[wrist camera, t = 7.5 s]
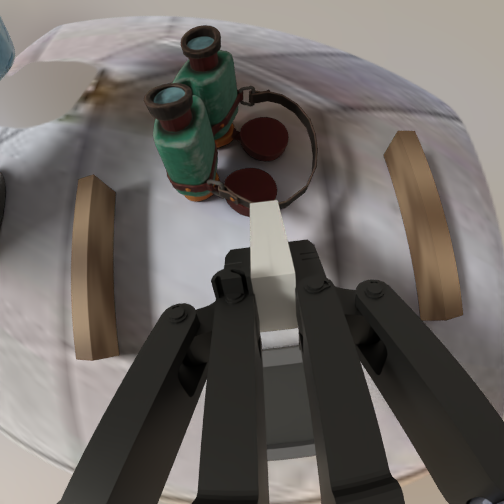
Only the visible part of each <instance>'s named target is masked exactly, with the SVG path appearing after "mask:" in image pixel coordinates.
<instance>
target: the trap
mask: <svg viewBox="0 0 504 504" xmlns="http://www.w3.org/2000/svg"><path fill="white" fill-rule="evenodd" d="M262 359H263V379H264V400H265V420H266V442H267V461H275V460H285V459H294V458H302V457H309V456H315V455H316V450H315V443H314V435H313V428H312V420H311V413H310V406H309V399H308V392H307V386H306V379H305V373H304V366H303V360H302V354H301V350H299V345H297V346H289V347H282V348H273V349H264V350H262Z"/></svg>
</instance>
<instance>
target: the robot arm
mask: <svg viewBox="0 0 504 504" xmlns="http://www.w3.org/2000/svg"><path fill="white" fill-rule="evenodd" d="M14 59H15V49H14V46H13V43H12V41H11V38H10V36H9V33H8V31H7V29H6V27H5V25H4V23H3V21H2V19H1V17H0V80H1V79H2V78H3V77H4V76H5V75H6V73H7V72H8V71H9V70H10V68H11V67H12V65H13V62H14ZM4 204H5V181H4V178H3V175H2V174H1V173H0V225H1V221H2V216H3V211H4ZM211 283H212V286H213V290H214V293H215V297H216V301H215V302H214V303H212V304H211V305H209V306H206V307H204V308H201V309H197V310H195V308H194V307H193V306H191V305H189V304H186V303H183V304H176V305H173V306H171V307H169V308H168V309H166V310H165V311H164V312H163V314H162V315H161V317H160V318H159V320H158V322H157V323H156V325H155V327H154V328H153V330H152V331H151V333H150V335H149V336H148V338H147V340H146V341H145V343H144V345H143V347H142V348H141V350H140V352H139V353H138V355H137V357H136V358H135V360H134V362H133V364H132V365H131V367H130V369H129V370H128V372H127V374H126V376H125V377H124V379H123V381H122V383H121V384H120V386H119V388H118V390H117V392H116V393H115V395H114V397H113V399H112V401H111V402H110V404H109V406H108V408H107V410H106V411H105V413H104V415H103V417H102V419H101V421H100V423H99V424H98V426H97V428H96V430H95V432H94V434H93V436H92V438H91V440H90V442H89V443H88V445H87V447H86V449H85V451H84V453H83V455H82V457H81V459H80V461H79V463H78V465H77V467H76V469H75V471H74V473H73V475H72V477H71V479H70V482H69V484H68V486H67V488H66V490H65V492H64V494H63V497H62V499H61V500H60V501H59V502H58V503H57V504H158V501H159V498H160V496H161V493H162V491H163V488H164V486H165V483H166V481H167V478H168V476H169V473H170V471H171V468H172V466H173V463H174V461H175V458H176V456H177V453H178V451H179V448H180V446H181V443H182V440H183V438H184V435H185V433H186V430H187V428H188V425H189V423H190V420H191V418H192V415H193V413H194V410H195V407H196V405H197V402H198V400H199V397H200V395H201V392H202V390H203V387H204V384H205V382H206V379H207V384H206V395H205V405H204V416H203V428H202V440H201V453H200V467H199V481H198V493H197V497H196V499H195V500H194V501H193V502H192V504H269V486H268V463H267V442H266V420H265V400H264V379H263V359H262V342H261V336H260V332H267V331H276V330H285V329H293V328H298V329H299V350H301V354H302V360H303V366H304V373H305V379H306V386H307V392H308V399H309V406H310V413H311V420H312V428H313V435H314V443H315V450H316V458H317V466H318V475H319V483H320V492H321V504H405V501H404V496H403V493H402V489H401V486H400V485H399V483H398V481H397V480H396V479H395V478H393V477H392V475H391V473H390V470H389V467H388V462H387V458H386V453H385V449H384V445H383V441H382V437H381V433H380V429H379V425H378V422H377V418H376V414H375V410H374V407H373V403H372V400H371V396H370V393H369V389H368V386H367V382H366V379H365V376H364V373H363V369H362V366H361V363H362V365H363V366H364V368H365V369H366V371H367V372H368V374H369V375H370V377H371V378H372V380H373V382H374V383H375V385H376V386H377V388H378V389H379V391H380V393H381V394H382V396H383V397H384V399H385V401H386V402H387V404H388V405H389V407H390V408H391V410H392V412H393V413H394V415H395V416H396V418H397V420H398V421H399V423H400V425H401V426H402V428H403V429H404V431H405V433H406V434H407V436H408V438H409V439H410V441H411V443H412V444H413V446H414V448H415V449H416V451H417V453H418V454H419V456H420V458H421V459H422V461H423V463H424V464H425V466H426V468H427V470H428V471H429V473H430V475H431V476H432V478H433V480H434V482H435V483H436V485H437V487H438V489H439V490H440V492H441V493H442V495H443V496H444V498H445V499H446V501H447V502H448V503H449V504H504V421H503V420H502V419H501V417H500V416H499V414H498V413H497V412H496V410H495V409H494V407H493V406H492V405H491V403H490V402H489V401H488V399H487V398H486V397H485V395H484V394H483V393H482V391H481V390H480V389H479V388H478V386H477V385H476V384H475V382H474V381H473V380H472V379H471V377H470V376H469V375H468V374H467V372H466V371H465V370H464V369H463V368H462V366H461V365H460V364H459V363H458V361H457V360H456V359H455V358H454V357H453V356H452V354H451V353H450V352H449V351H448V350H447V348H446V347H445V346H444V345H443V344H442V343H441V342H440V340H439V339H438V338H437V337H436V336H435V335H434V334H433V332H432V331H431V330H430V329H429V328H428V327H427V326H426V325H425V324H424V322H423V321H422V320H421V319H420V318H419V317H418V316H417V315H416V314H415V313H414V312H413V310H412V309H411V308H410V307H409V306H408V305H407V304H406V303H405V302H404V301H403V300H402V299H401V298H400V297H399V296H398V295H397V294H396V293H395V292H394V291H393V289H392V288H391V287H390V286H388V285H387V284H386V283H384V282H381V281H379V280H367V281H363V282H362V283H360V284H359V285H358V286H357V288H356V290H349V289H342V288H338V287H335V286H334V284H333V283H332V282H331V280H329V279H328V278H326V275H325V272H324V270H323V267H322V264H321V261H320V259H319V256H318V253H317V251H316V248H315V246H314V244H312V243H311V242H310V241H309V240H300V241H292V242H288V241H287V236H286V232H285V228H284V224H283V220H282V216H281V212H280V208H279V204H278V200H274V201H266V202H258V203H250V247H249V248H241V249H233V250H230V251H229V253H228V254H227V255H226V257H225V265H224V269H223V270H221V271H219V272H217V273H216V274H215V275H214V276H213V277H212V280H211ZM360 361H361V363H360Z"/></svg>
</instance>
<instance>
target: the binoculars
mask: <svg viewBox="0 0 504 504" xmlns="http://www.w3.org/2000/svg"><path fill="white" fill-rule="evenodd" d="M181 47H182V50H183V53H184V55H185V56H186V57H188V58H189V60H188V61H187V62H186V63H185V64H184V65H183V67H182V68H181V69H180V71H179V72H178V74H177V75H176V77H175V79H174V81H173V83H170V84H164V85H161V86H158V87H155V88H153V89H152V90H150V91H149V92H148V93H147V94H146V95H145V97H144V102H145V104H146V106H147V108H148V110H149V111H150V113H151V115H152V116H153V117H154V118H155V124H154V130H153V137H154V141H155V145H156V147H157V149H158V152H159V154H160V156H161V159H162V161H163V163H164V166H165V168H166V171H167V177H168V179H169V180H170V182H171V184H172V185H173V187H174V188H175V189H176V190H177V191H178V192H179V193H180V194H183V195H185V197H186V198H187V199H188V200H191V201H195V202H196V201H202V200H204V199H207V198H208V197H210V196H212V195H213V194H215V195H217V196H219V197H221V198H223V199H224V198H225V199H226V201H227V203H228V204H229V205H230V206H231V208H233V209H234V210H235V211H236V212H238V213H239V214H241V215H244V216H248V217H250V203H258V202H266V201H274V200H275V198H276V195H277V185H276V183H275V181H274V179H273V178H272V177H271V176H270V175H269V174H268V173H267V172H265V171H263V170H260V169H256V168H245V169H240V170H237V171H235V172H233V173H231V174H230V175H229V176H228V177H227V178H226V180H225V184H223V183H222V182H220V179H219V176H218V174H217V172H216V170H217V162H218V157H217V155H218V152H217V148H218V147H221V146H224V145H226V144H228V143H230V142H231V141H232V140H233V139H235V140H238V141H240V142H241V145H242V147H243V149H244V150H245V151H246V152H247V153H248V154H249V155H250V156H252V157H253V158H255V159H258V160H260V161H271V160H275V159H277V158H278V157H280V156H281V155H282V154H283V152H284V150H285V148H286V146H287V143H288V138H289V137H288V132H287V130H286V128H285V126H284V125H283V124H282V123H281V122H279V121H278V120H276V119H273V118H268V117H260V118H255V119H252V120H250V121H248V122H246V123H245V124H244V125H243V126H242V128H241V131H240V132H238V131H236V129H235V128H234V125H233V123H232V122H233V120H234V118H235V116H236V114H237V112H238V104H239V102H240V103H241V104H243V105H247V106H253V105H254V104H255V103H260V102H266V101H270V102H274V103H278V104H281V105H283V106H284V107H286V108H287V109H289V110H291V111H292V112H294V113H295V114H296V115H297V117H298V118H299V119H300V120H301V122H302V123H303V124H304V126H305V127H306V128H307V131H308V134H309V137H310V140H311V144H312V153H313V162H312V174H311V176H310V178H309V180H308V183H307V185H306V186H305V187H303V188H302V189H301V190H299V191H298V192H297V193H296V194H294V195H293V196H292V197H290V198H289V199H288V200H286V201H283V202H279V203H278V204H279V208H280V209H283V208H286V207H287V206H288V205H290V204H291V203H292V202H293V201H295V200H296V199H297V198H299V197H300V196H301V195H302V194H304V193H305V192H306V190H307V188H308V185H309V183H310V181H311V179H312V176H313V174H314V172H315V169H316V167H317V153H318V148H317V140H316V134H315V131H314V128H313V125H312V123H311V120H310V119H309V117H308V116H307V115H306V114H305V112H304V111H303V110H302V109H301V107H300V106H299V105H298V104H297V103H295V102H294V101H292V100H290V99H289V98H287V97H286V96H284V95H282V94H278V93H274V92H270V90H267V91H262V92H260V91H255V88H254V87H253V86H249V87H243V88H241V89H239V91H238V90H237V85H236V77H235V69H234V62H233V58H232V55H231V54H230V53H229V52H227V51H222V50H220V48H221V36H220V32H219V31H218V30H217V29H216V28H215V27H212V26H207V25H205V26H198V27H195V28H192V29H191V30H189V31H188V32H186V33H185V34H184V35H183V37H182V39H181ZM248 89H252V90H251V91H249V102H250V103H247V102H244V101H242V100H243V90H248Z"/></svg>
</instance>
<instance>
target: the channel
mask: <svg viewBox="0 0 504 504" xmlns="http://www.w3.org/2000/svg"><path fill="white" fill-rule="evenodd" d="M384 158H385V161H386V164H387V167H388V170H389V173H390V176H391V179H392V182H393V186H394V189H395V192H396V196H397V199H398V203H399V207H400V211H401V214H402V218H403V222H404V226H405V231H406V235H407V239H408V244H409V249H410V254H411V259H412V264H413V270H414V275H415V281H416V288H417V295H418V302H419V310H420V319H421V320H422V321H436V320H449V319H452V318H455V317H458V316H462V315H463V308H462V299H461V292H460V285H459V278H458V272H457V267H456V261H455V256H454V251H453V247H452V242H451V238H450V234H449V230H448V226H447V222H446V218H445V214H444V211H443V207H442V204H441V201H440V197H439V194H438V191H437V188H436V185H435V182H434V179H433V176H432V173H431V170H430V168H429V165H428V162H427V160H426V157H425V154H424V152H423V149H422V147H421V144H420V142H419V140H418V137H417V135H416V133H415V131H397V133H396V135H395V137H394V138H393V140H392V142H391V143H390V145H389V147H388V148H387V150H386V152H385V153H384ZM115 196H116V192H115V191H113V190H112V189H111V188H110V187H108V186H107V185H106V184H105V183H104V182H102V181H101V180H100V179H99V178H98V177H96V176H95V175H94V174H93V175H90V176H87V177H84V178H81V179H79V181H78V187H77V195H76V203H75V212H74V223H73V236H72V256H71V301H72V320H73V334H74V344H75V353H76V359H77V360H91V361H93V360H99V359H104V358H109V357H114V356H119V349H118V340H117V330H116V317H115V302H114V277H113V237H114V212H115Z"/></svg>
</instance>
